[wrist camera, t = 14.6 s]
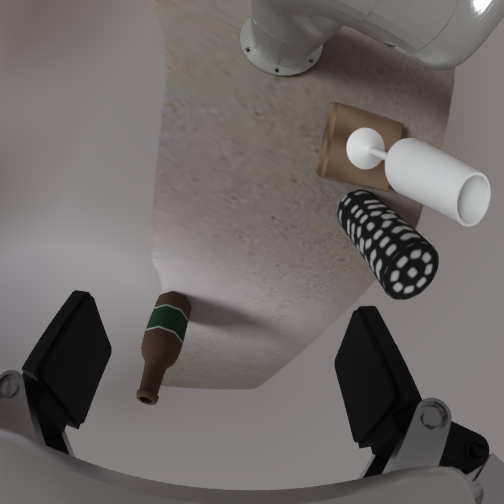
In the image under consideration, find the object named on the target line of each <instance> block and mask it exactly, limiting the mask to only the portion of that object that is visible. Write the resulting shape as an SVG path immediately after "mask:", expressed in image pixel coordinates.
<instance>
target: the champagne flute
mask: <svg viewBox="0 0 504 504" xmlns="http://www.w3.org/2000/svg"><path fill="white" fill-rule="evenodd" d="M346 149H347V155H348V158H349V160H350V161H351V162H352V163H353V165H355V166H356V167H358V168H360V169H372V168H374V167H376V166H377V165H378V164H379V163H380V162H381V161H382V160H385V174H386V177H387V180H388V182H389V184H390V185H391V186H392V188H393V189H394V190H395V191H397V192H398V193H400V194H402V195H404V196H407V197H409V198H411V199H413V200H415V201H417V202H419V203H421V204H423V205H425V206H427V207H430V208H432V209H434V210H435V211H437V212H439V213H441V214H443V215H445V216H447V217H449V218H451V219H453V220H454V221H456V222H458V223H460V224H462V225H464V226H467V227H470V226H474V225H475V224H477V223H478V222H479V221H480V220H481V219H482V218H483V217H484V215H485V213H486V211H487V209H488V206H489V203H490V195H491V191H490V185H489V182H488V180H487V178H486V176H485V175H483V174H482V173H481V172H479V171H477V170H475V169H474V168H472V167H470V166H469V165H467V164H465V163H463V162H462V161H460V160H458V159H456V158H454V157H452V156H450V155H449V154H447V153H445V152H442V151H441V150H439V149H437V148H435V147H433V146H431V145H428V144H426V143H424V142H422V141H420V140H417V139H414V138H405V139H401V140H399V141H397V142H396V143H395V144H394V145H393V146H392V147H391V148H390V149H389V151H388V153H387V152H385V146H384V142H383V139H382V137H381V136H380V135H379V133H377V132H376V131H375V130H373V129H370V128H360V129H358V130H356V131H354V132H353V133H352V134H351V135H350V137H349V139H348V141H347V146H346Z"/></svg>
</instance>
